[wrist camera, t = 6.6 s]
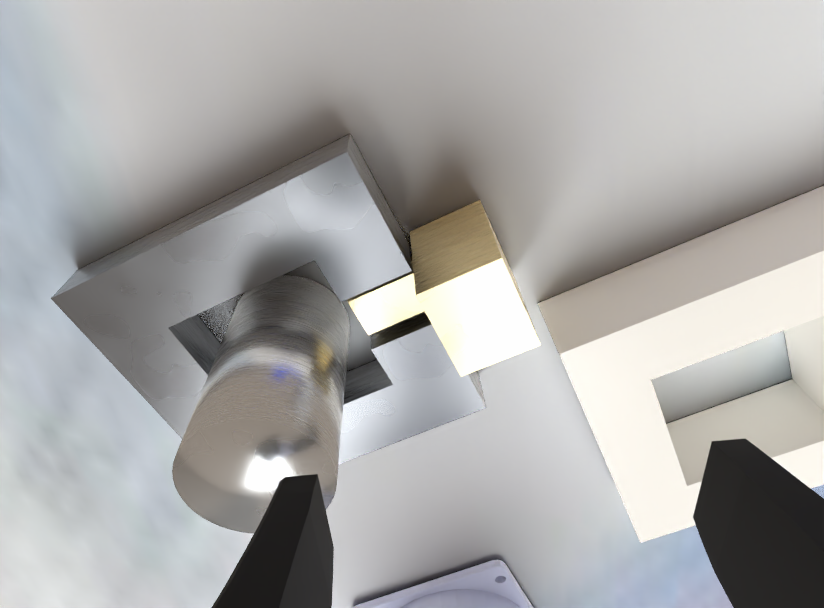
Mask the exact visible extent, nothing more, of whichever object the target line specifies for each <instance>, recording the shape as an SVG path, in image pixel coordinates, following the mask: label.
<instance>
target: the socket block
mask: <svg viewBox="0 0 824 608" xmlns="http://www.w3.org/2000/svg"><path fill="white" fill-rule="evenodd" d="M312 261H315V262H316V264H317V265H318V267H319V269H320V270H321V272H322V273H323V275H324V276H325V278H326V280H327V281H328V283H329V284H330V286H331V287H332V289H333V291H334V292H335V294H336V295H337V297H338V298H339V300H340V302H342V301H345V300H347V299H349V298H352V297H354V296H356V295H358V294H361V293H363V292H365V291H367V290H370V289H372V288H374V287H376V286H379V285H381V284H383V283H385V282H388V281H390V280H392V279H395V278H397V277H399V276H401V275H404V274H406V273H408V272H410V271H412V269H411V257H410V246H409V243H408V241H407V239H406V238H405V236H404V234H403V232H402V230H401V228H400V226H399V224H398V223H397V221H396V219H395V217H394V215H393V213H392V211H391V209H390V208H389V206H388V204H387V202H386V200H385V198H384V196H383V194H382V192H381V191H380V189H379V187H378V185H377V183H376V181H375V179H374V177H373V176H372V174H371V172H370V170H369V168H368V166H367V164H366V162H365V161H364V159H363V157H362V155H361V153H360V151H359V149H358V147H357V146H356V144H355V142H354V140H353V138H352V136H351V134H348V135H346V136H344V137H342V138H340V139H338V140H336V141H334V142H332V143H330V144H328V145H326V146H324V147H322V148H320V149H318V150H316V151H315V152H313V153H311V154H309V155H307V156H305V157H303V158H301V159H299V160H297V161H295V162H293V163H291V164H289V165H287V166H285V167H283V168H281V169H279V170H277V171H275V172H273V173H271V174H269V175H267V176H265V177H263V178H261V179H259V180H257V181H255V182H253V183H251V184H249V185H247V186H245V187H243V188H241V189H239V190H237V191H235V192H233V193H231V194H229V195H227V196H225V197H223V198H221V199H219V200H217V201H215V202H213V203H211V204H209V205H207V206H205V207H203V208H201V209H199V210H197V211H195V212H193V213H191V214H189V215H187V216H185V217H183V218H181V219H179V220H177V221H175V222H173V223H171V224H169V225H167V226H165V227H163V228H161V229H159V230H157V231H155V232H153V233H151V234H149V235H147V236H145V237H143V238H141V239H139V240H137V241H135V242H133V243H131V244H129V245H127V246H125V247H123V248H121V249H119V250H117V251H115V252H113V253H111V254H109V255H107V256H105V257H103V258H101V259H99V260H97V261H95V262H93V263H91V264H89V265H87V266H85V267H83V268H81V269H79V270H77V271H76V272H75V273H74V274H73V275H72V277H71V278H70V279H69V280H68V281H67V282H66V283H65V284H64V285H63V286H62V287H61V288H60V289H59V290H58V291H57V293H56V294H55V295H54V296H53V297H52V298H51V299H52V300H53V301H54V302H55V303H56V304H57V305H58V307H59V308H60V309H61V310H62V311H63V312H64V313H65V314H66V315H67V316H68V317H69V318H70V319H71V320H72V321H73V323H74V324H75V325H76V326H77V327H78V328H79V329H80V330H81V331H82V332H83V333H84V334H85V335H86V336H87V338H88V339H89V340H90V341H91V342H92V343H93V344H94V345H95V346H96V347H97V348H98V349H99V350H100V351H101V352H102V354H103V355H104V356H105V357H106V358H107V359H108V360H109V361H110V362H111V363H112V364H113V365H114V366H115V367H116V369H117V370H118V371H119V372H120V373H121V374H122V375H123V376H124V377H125V378H126V379H127V380H128V381H129V382H130V383H131V385H132V386H133V387H134V388H135V389H136V390H137V391H138V392H139V393H140V394H141V395H142V396H143V397H144V398H145V399H146V401H147V402H148V403H149V404H150V405H151V406H152V407H153V408H154V409H155V410H156V411H157V412H158V413H159V414H160V416H161V417H162V418H163V419H164V420H165V421H166V422H167V423H168V424H169V425H170V426H171V427H172V428H173V429H174V430H175V432H176V433H177V434H178V435H179V436H180V437H181V438H182V439H183V437H184V434H185V432H186V429H187V427H188V424H189V422H190V419H191V417H192V414H193V412H194V409H195V407H196V404H197V402H198V399H199V397H200V395H201V392H202V390H203V387H204V385H205V382H206V380H207V377H208V375H209V372H210V370H211V367H212V365H213V362H214V360H215V357H216V355H217V353H218V350H219V348H220V345H221V344H220V342H219V341H218V340H217V339H216V337H215V336H214V335H213V334H212V332H211V331H210V330H209V329H208V327H207V326H206V325H205V324H204V322H203V321H202V320H201V319H200V317H199V316H198V315H197V314H199V313H201V312H203V311H206V310H208V309H210V308H212V307H214V306H216V305H219V304H221V303H223V302H225V301H227V300H229V299H232V298H234V297H236V296H238V295H240V294H242V293H245V292H247V291H249V290H251V289H253V288H255V287H258V286H260V285H262V284H264V283H266V282H268V281H271V280H273V279H275V278H277V277H279V276H281V275H284V274H286V273H288V272H290V271H292V270H294V269H297V268H299V267H301V266H303V265H305V264H307V263H310V262H312ZM371 350H372V352H373V354H374V355H375V357H376V358H377V360H375V361H372V362H370V363H368V364H365V365H363V366H360V367H358V368H356V369H353V370H351V371H348V372H346V381H345V393H344V404H343V416H342V427H341V439H340V451H339V462H338V465H339V464H341V463H344V462H347V461H349V460H352V459H355V458H357V457H360V456H362V455H365V454H368V453H370V452H373V451H375V450H378V449H381V448H383V447H386V446H388V445H391V444H394V443H396V442H399V441H401V440H404V439H407V438H409V437H412V436H415V435H417V434H420V433H422V432H425V431H428V430H430V429H433V428H435V427H438V426H441V425H443V424H446V423H448V422H451V421H454V420H456V419H459V418H461V417H464V416H467V415H469V414H472V413H475V412H477V411H480V410H482V409H485V408H486V405H485V400H484V396H483V391H482V387H481V382H480V378H479V375H478V373H477V371H475V372H472V373H470V374H467V375H465V376H462V377H461V376H460V374H459V372H458V371H457V369H456V367H455V365H454V363H453V362H452V360H451V358H450V356H449V354H448V353H447V351H446V349H445V347H444V345H443V344H442V342H441V340H440V338H439V336H438V334H437V333H436V331H435V329H434V327H433V325H432V324H431V322H430V320H429V318H428V316H427V315H426V313H425V312H422V313H420V314H418V315H415V316H413V317H410V318H408V319H406V320H403V321H401V322H399V323H396V324H394V325H392V326H389V327H387V328H385V329H382V330H380V331H378V332H375V333H373V334H372V338H371Z"/></svg>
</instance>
